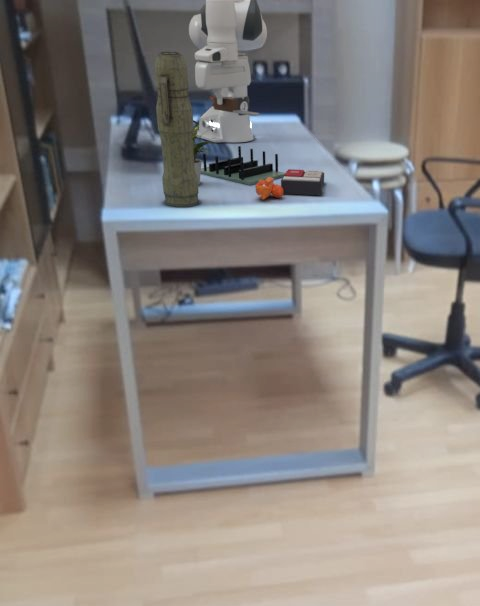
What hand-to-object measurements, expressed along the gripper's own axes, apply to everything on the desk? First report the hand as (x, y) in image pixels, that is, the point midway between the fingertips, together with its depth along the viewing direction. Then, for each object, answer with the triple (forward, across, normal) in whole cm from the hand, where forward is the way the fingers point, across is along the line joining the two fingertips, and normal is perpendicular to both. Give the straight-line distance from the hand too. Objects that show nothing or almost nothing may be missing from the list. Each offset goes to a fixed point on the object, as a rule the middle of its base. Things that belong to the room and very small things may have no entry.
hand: (225, 103), depth 238 cm
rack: (+17, +10, +15) cm, 25 cm away
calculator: (+17, +10, +39) cm, 44 cm away
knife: (+2, 0, +4) cm, 5 cm away
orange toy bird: (+17, +24, +39) cm, 49 cm away
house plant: (+17, +30, +13) cm, 37 cm away
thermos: (+17, +44, +26) cm, 54 cm away
